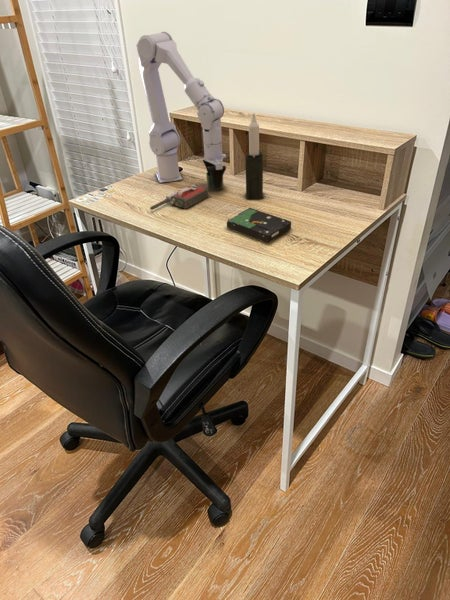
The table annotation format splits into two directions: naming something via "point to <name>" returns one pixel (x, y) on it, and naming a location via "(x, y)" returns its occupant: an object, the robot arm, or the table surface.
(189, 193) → the walkie-talkie
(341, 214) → the table surface
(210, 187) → the green cup
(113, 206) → the table surface
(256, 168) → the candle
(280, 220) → the disk drive
